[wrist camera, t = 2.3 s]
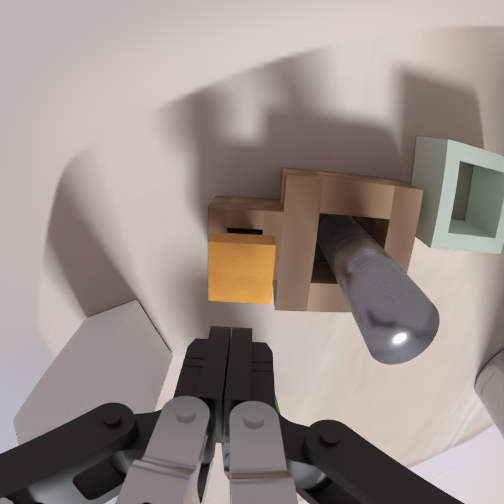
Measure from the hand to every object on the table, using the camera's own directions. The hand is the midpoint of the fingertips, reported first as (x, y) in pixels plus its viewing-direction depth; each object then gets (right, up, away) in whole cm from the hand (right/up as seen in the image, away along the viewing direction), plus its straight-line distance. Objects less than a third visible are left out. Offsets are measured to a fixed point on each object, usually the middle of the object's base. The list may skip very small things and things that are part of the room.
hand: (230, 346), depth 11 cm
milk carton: (-12, -5, +19) cm, 23 cm away
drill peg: (+8, +5, +14) cm, 17 cm away
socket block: (+5, +5, +14) cm, 16 cm away
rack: (+18, +9, +12) cm, 24 cm away
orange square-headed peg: (0, +4, +11) cm, 12 cm away
